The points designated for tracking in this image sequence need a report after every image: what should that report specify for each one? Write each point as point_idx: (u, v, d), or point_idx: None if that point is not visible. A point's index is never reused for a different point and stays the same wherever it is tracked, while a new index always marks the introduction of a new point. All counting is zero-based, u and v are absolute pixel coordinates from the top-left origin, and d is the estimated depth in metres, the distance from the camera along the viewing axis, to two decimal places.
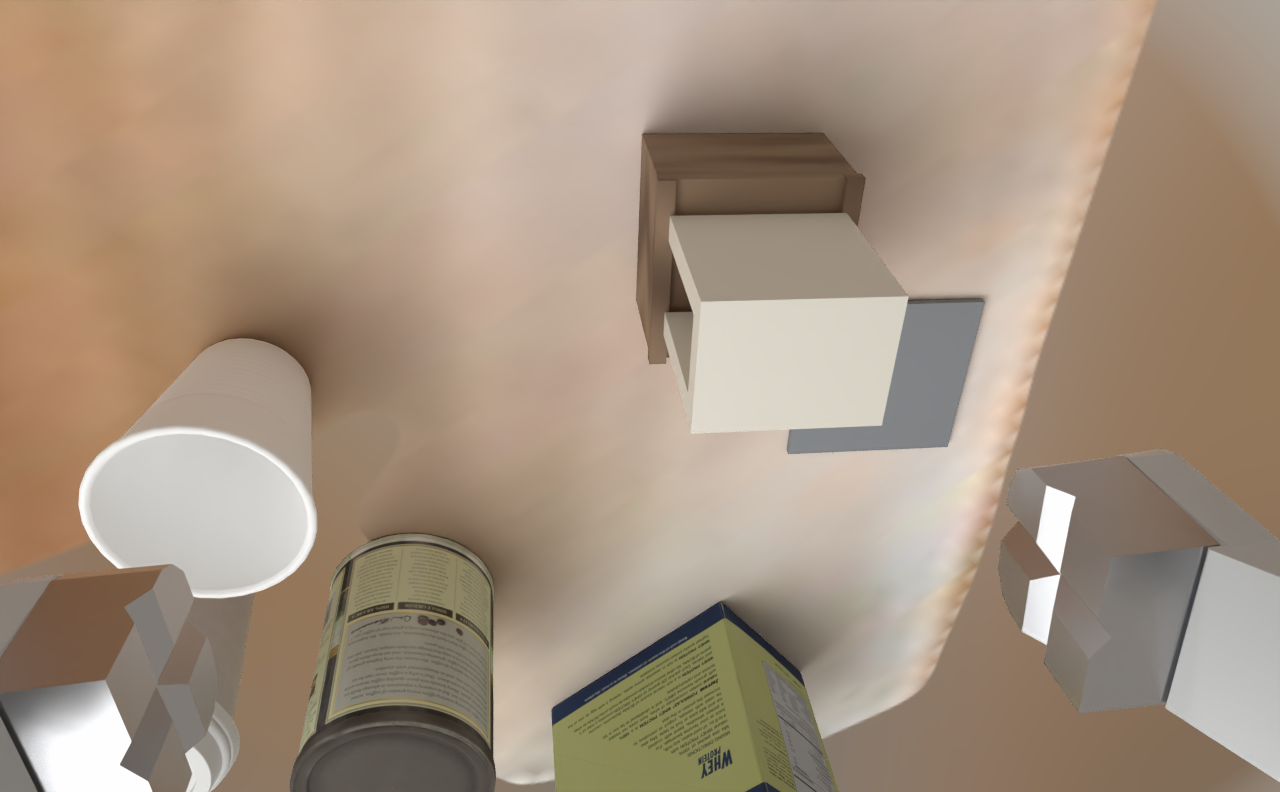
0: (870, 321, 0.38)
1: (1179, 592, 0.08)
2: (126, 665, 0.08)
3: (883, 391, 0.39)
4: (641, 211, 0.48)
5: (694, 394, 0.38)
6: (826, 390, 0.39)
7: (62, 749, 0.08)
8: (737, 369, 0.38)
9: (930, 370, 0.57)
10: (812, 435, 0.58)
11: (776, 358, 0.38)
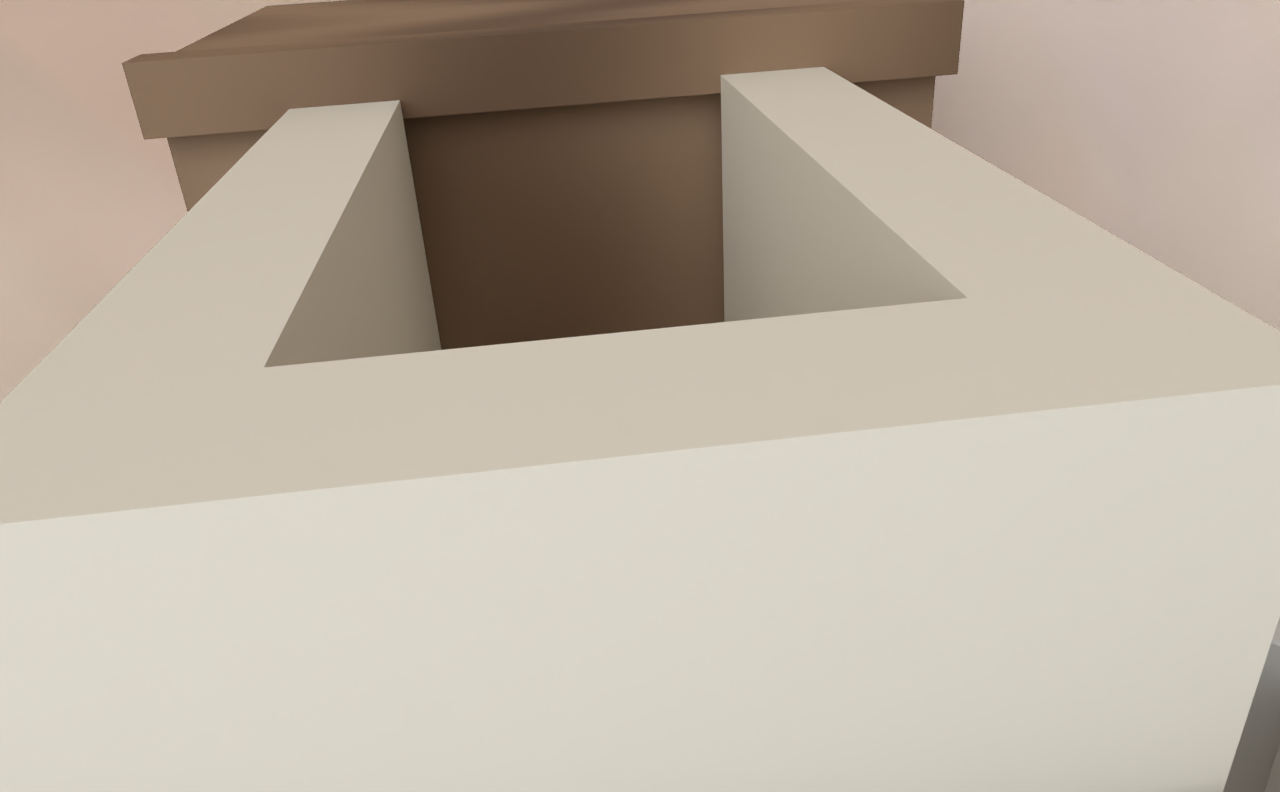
0: None
1: None
2: None
3: None
4: None
5: (375, 486, 0.04)
6: None
7: None
8: (667, 750, 0.05)
9: None
10: None
11: None
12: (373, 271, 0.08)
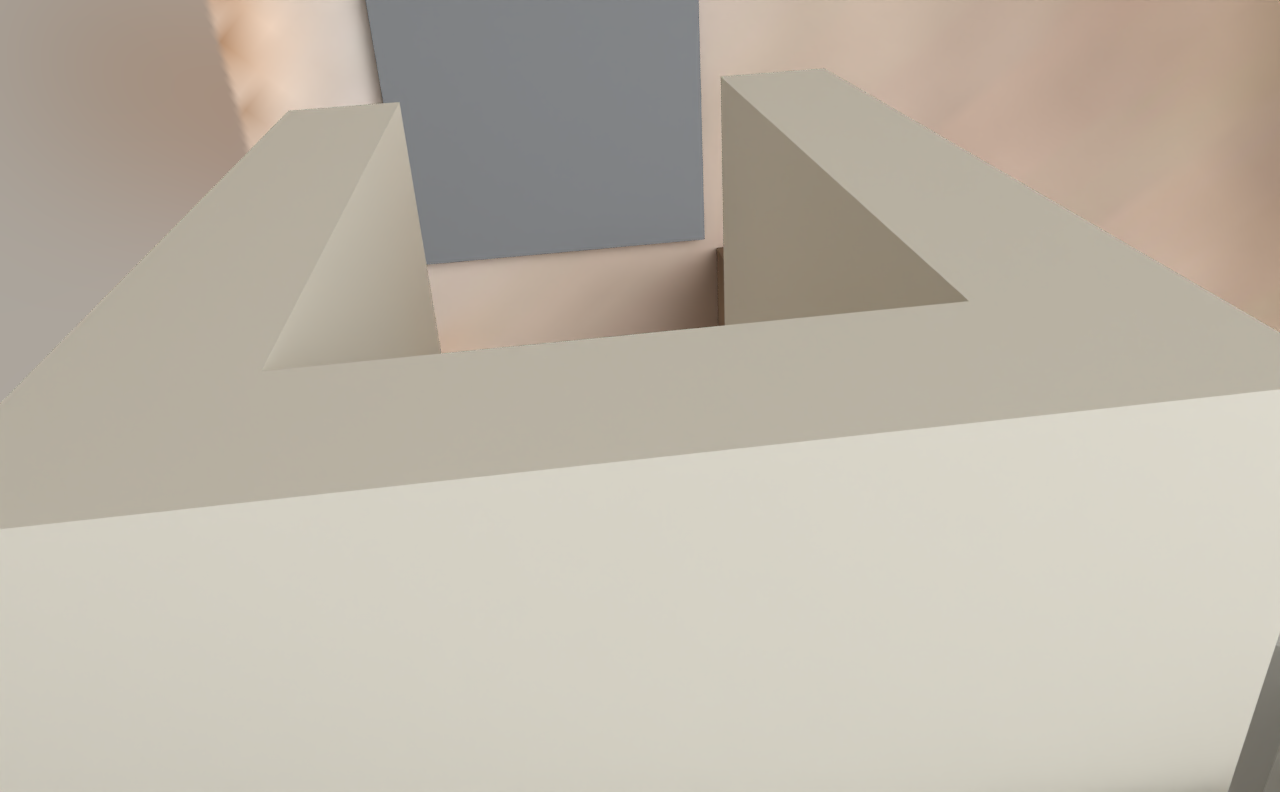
0: None
1: None
2: None
3: None
4: None
5: (372, 491, 0.04)
6: None
7: None
8: (669, 756, 0.05)
9: (461, 129, 0.31)
10: None
11: None
12: (371, 274, 0.08)
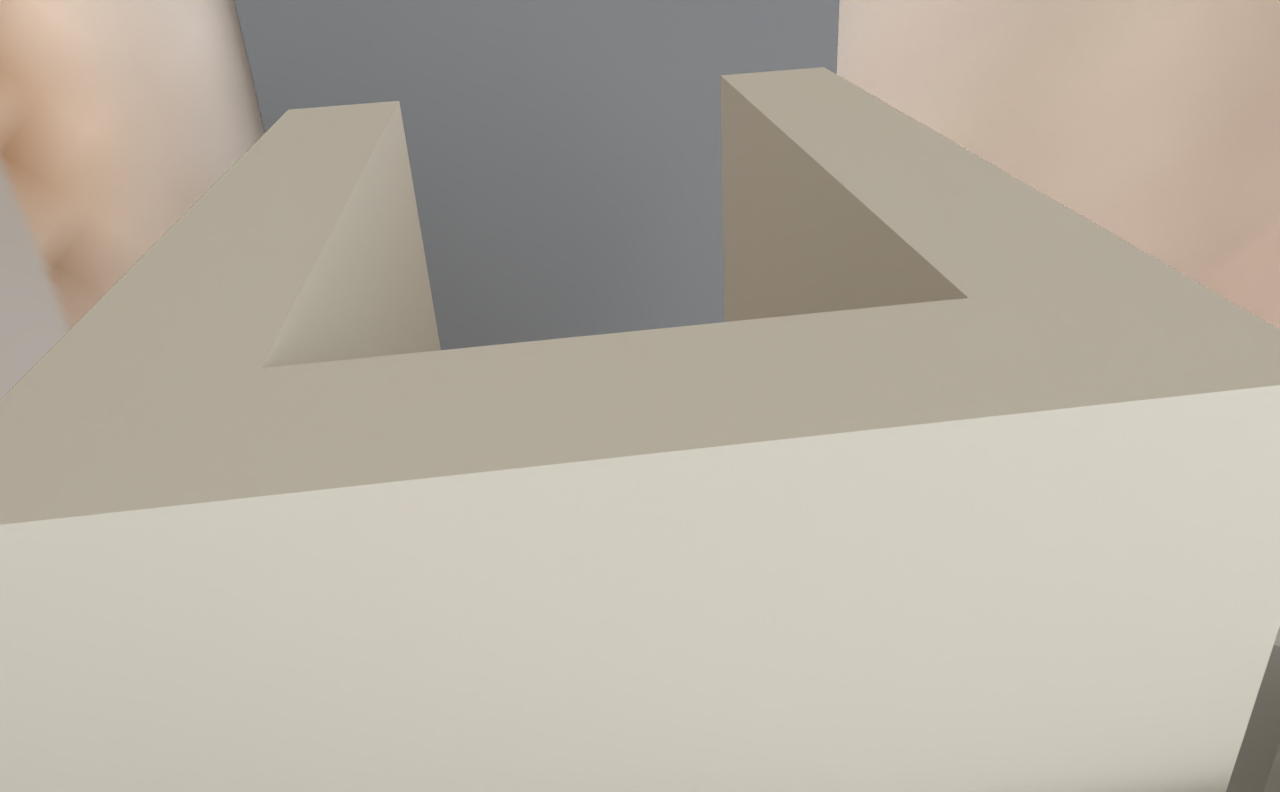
0: None
1: None
2: None
3: None
4: None
5: (373, 487, 0.04)
6: None
7: None
8: (667, 752, 0.05)
9: None
10: (764, 24, 0.17)
11: None
12: (372, 272, 0.08)
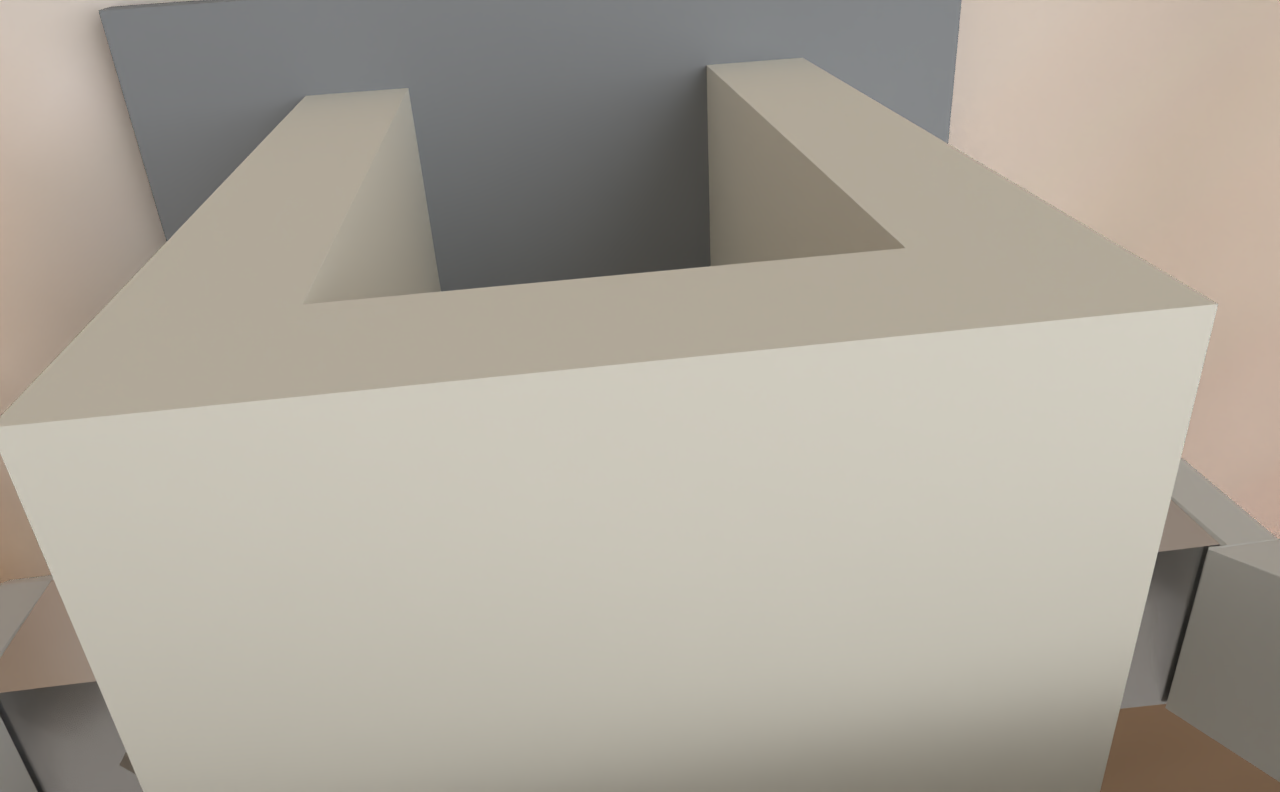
0: None
1: (1179, 592, 0.08)
2: None
3: None
4: None
5: (403, 389, 0.05)
6: None
7: (62, 749, 0.08)
8: (647, 627, 0.06)
9: None
10: (853, 71, 0.12)
11: None
12: (387, 240, 0.09)
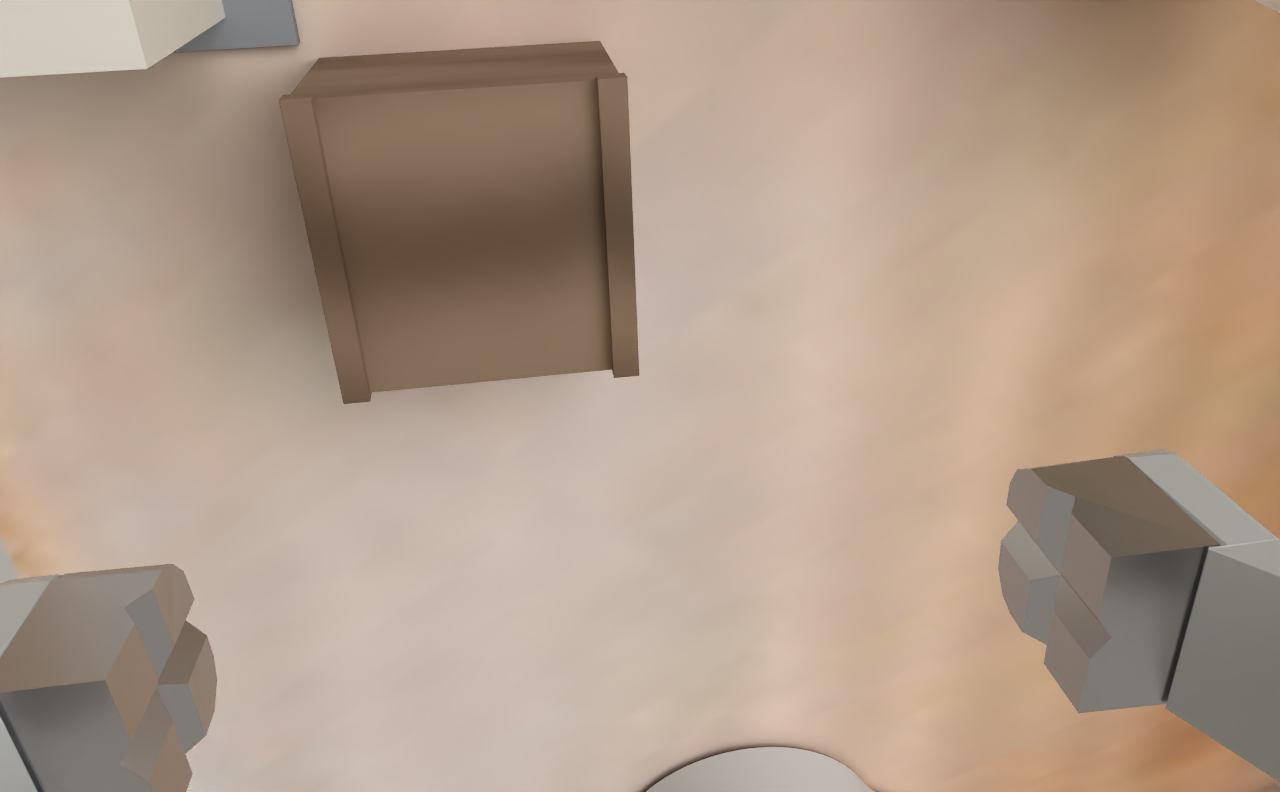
0: (83, 11, 0.22)
1: (1179, 592, 0.08)
2: (125, 665, 0.08)
3: None
4: None
5: None
6: None
7: (62, 749, 0.08)
8: None
9: None
10: None
11: None
12: None
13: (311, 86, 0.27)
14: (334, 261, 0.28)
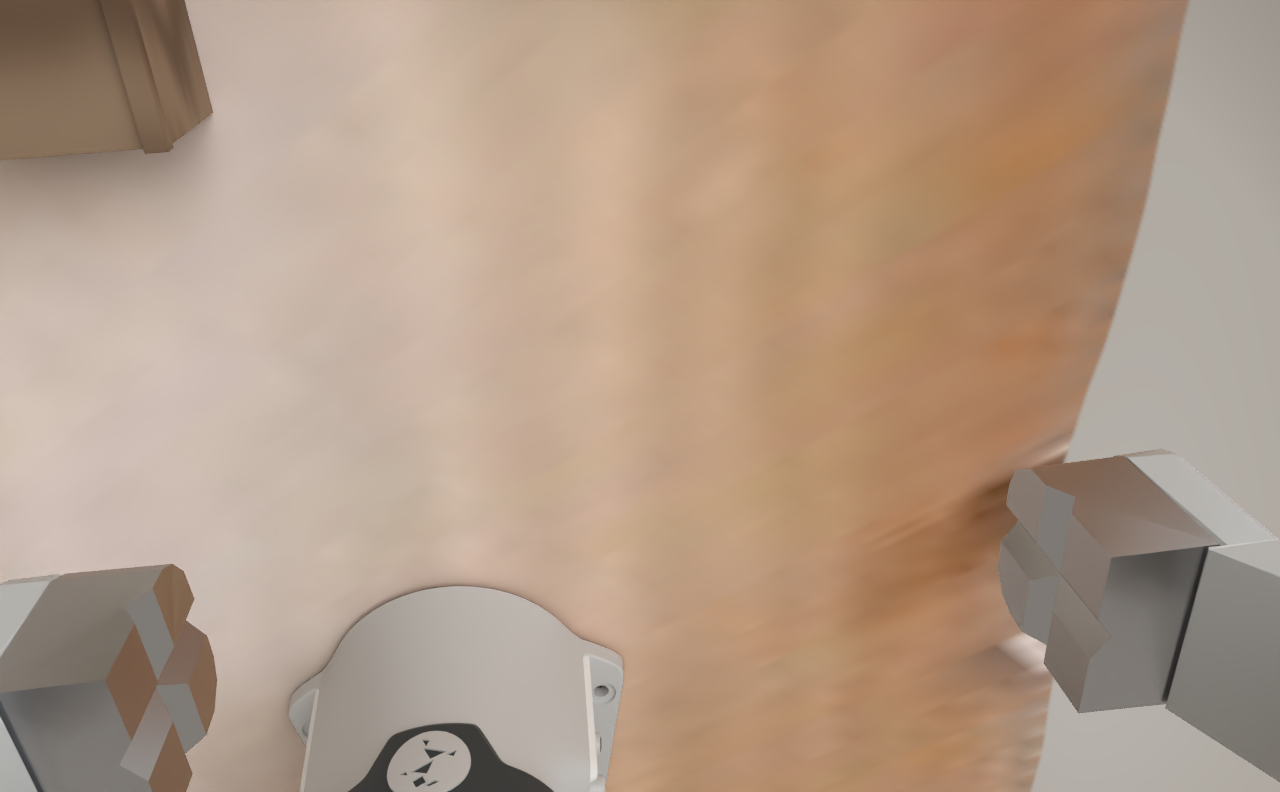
0: None
1: (1179, 592, 0.08)
2: (127, 664, 0.08)
3: None
4: (182, 20, 0.38)
5: None
6: None
7: (62, 749, 0.08)
8: None
9: None
10: None
11: None
12: None
13: None
14: None
